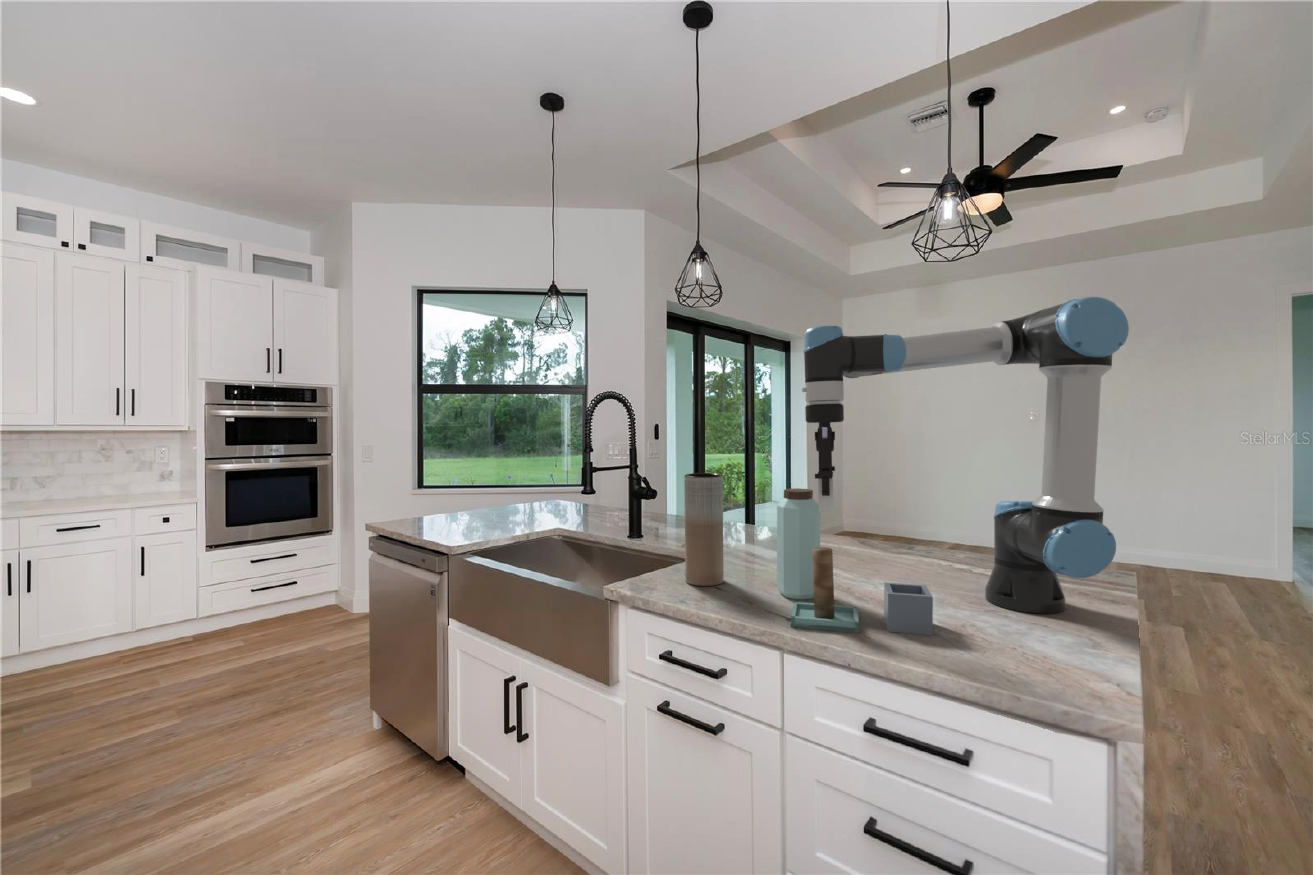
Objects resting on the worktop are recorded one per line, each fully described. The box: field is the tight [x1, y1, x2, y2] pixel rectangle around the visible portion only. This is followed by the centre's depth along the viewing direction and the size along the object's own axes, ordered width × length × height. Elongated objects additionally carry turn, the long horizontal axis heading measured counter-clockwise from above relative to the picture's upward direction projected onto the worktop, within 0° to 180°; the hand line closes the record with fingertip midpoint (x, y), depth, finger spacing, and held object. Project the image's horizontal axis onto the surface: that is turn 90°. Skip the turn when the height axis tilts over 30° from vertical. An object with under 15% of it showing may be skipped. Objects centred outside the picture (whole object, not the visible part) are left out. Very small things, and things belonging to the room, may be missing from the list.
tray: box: [790, 601, 860, 634], centre depth 118 cm, size 13×10×2 cm
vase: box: [683, 472, 725, 587], centre depth 148 cm, size 10×10×28 cm
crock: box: [883, 581, 934, 636], centre depth 115 cm, size 8×8×8 cm
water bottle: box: [776, 487, 821, 601], centre depth 136 cm, size 10×10×25 cm
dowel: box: [812, 546, 835, 619], centre depth 118 cm, size 4×4×14 cm
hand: (826, 506), depth 117 cm, fingers open, 13 cm apart
